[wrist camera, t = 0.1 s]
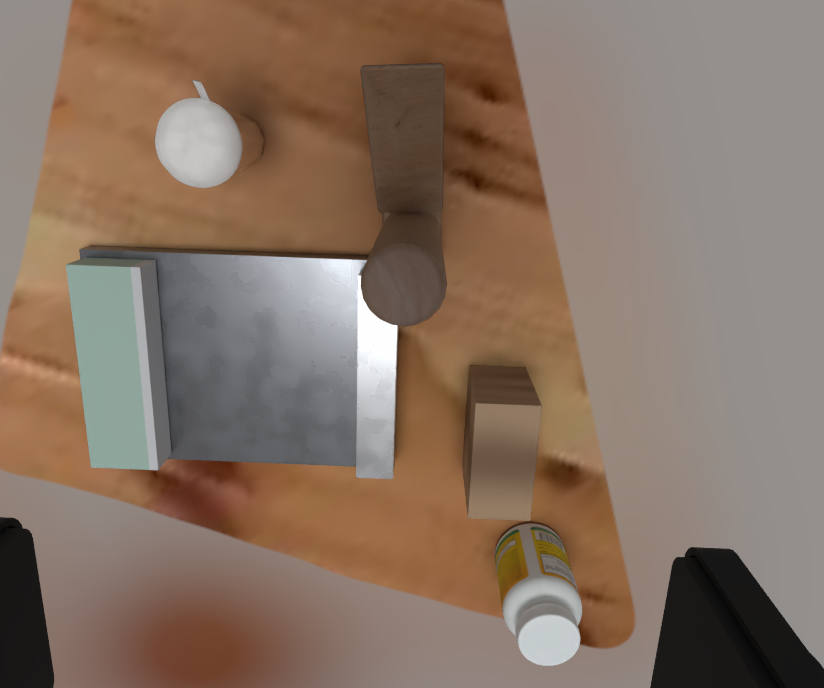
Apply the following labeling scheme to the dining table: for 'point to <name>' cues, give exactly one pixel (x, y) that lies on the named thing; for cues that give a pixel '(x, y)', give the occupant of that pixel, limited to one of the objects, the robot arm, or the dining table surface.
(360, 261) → the vise base
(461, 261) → the dining table surface
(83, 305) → the block
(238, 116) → the milkshake
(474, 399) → the walnut block
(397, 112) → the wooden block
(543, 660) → the supplement bottle
